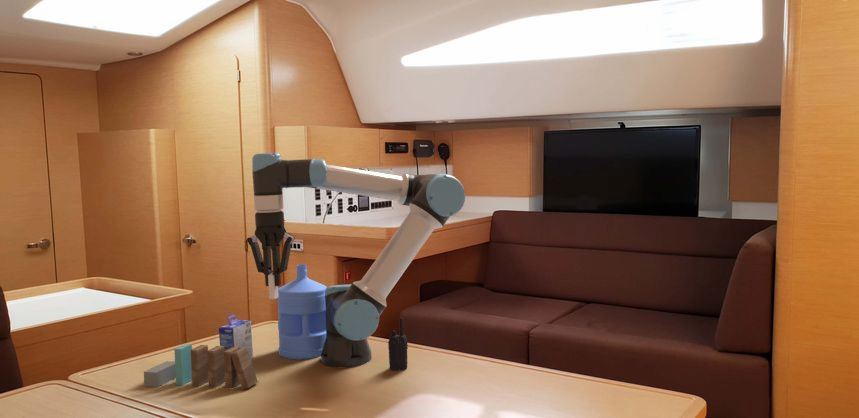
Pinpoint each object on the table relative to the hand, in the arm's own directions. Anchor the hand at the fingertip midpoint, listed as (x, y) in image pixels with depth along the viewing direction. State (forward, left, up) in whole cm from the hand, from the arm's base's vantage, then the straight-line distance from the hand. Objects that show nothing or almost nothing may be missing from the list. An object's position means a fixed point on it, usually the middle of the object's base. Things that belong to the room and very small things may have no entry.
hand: (273, 298), depth 178 cm
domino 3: (+10, +4, -23) cm, 26 cm away
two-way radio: (-30, -17, -24) cm, 41 cm away
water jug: (+4, -28, -24) cm, 37 cm away
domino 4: (+6, +4, -23) cm, 24 cm away
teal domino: (+25, +4, -23) cm, 35 cm away
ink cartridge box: (+20, -15, -24) cm, 35 cm away
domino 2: (+15, +4, -23) cm, 28 cm away
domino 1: (+20, +4, -23) cm, 31 cm away
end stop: (+32, +4, -23) cm, 40 cm away
